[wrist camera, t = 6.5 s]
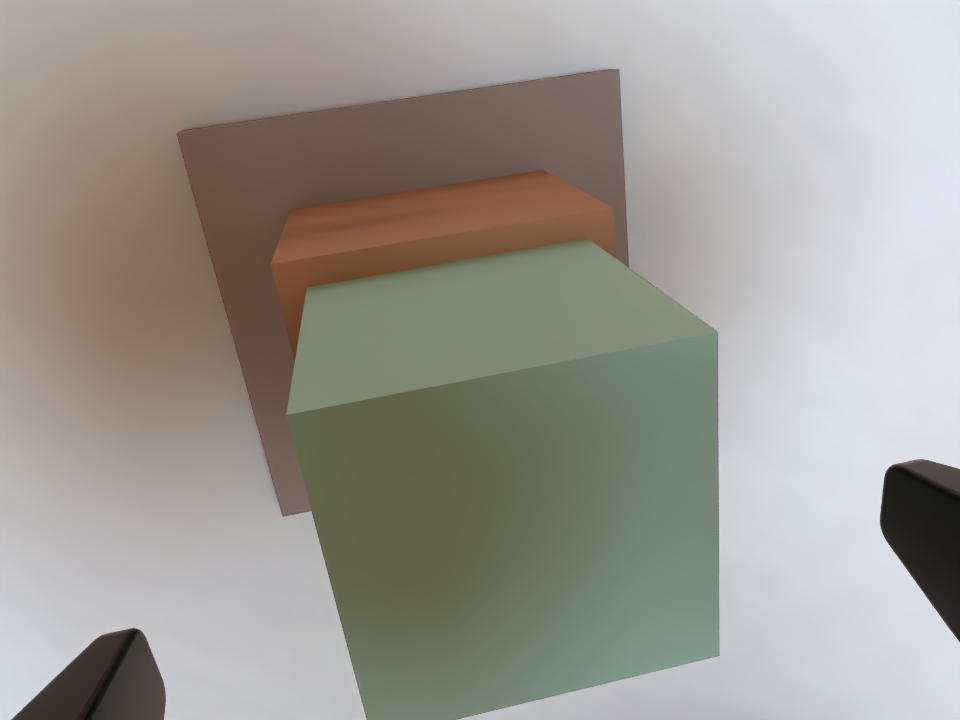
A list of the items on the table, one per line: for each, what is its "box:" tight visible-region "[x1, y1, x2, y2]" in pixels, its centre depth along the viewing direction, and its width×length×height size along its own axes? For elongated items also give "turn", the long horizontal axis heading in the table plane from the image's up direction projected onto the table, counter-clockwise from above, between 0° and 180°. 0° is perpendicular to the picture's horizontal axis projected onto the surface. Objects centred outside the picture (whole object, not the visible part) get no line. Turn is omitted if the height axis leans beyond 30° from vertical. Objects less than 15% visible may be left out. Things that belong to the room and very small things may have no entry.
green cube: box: [286, 238, 719, 720], centre depth 12 cm, size 5×5×5 cm
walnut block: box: [271, 170, 616, 361], centre depth 16 cm, size 6×6×5 cm
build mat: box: [177, 69, 629, 516], centre depth 19 cm, size 10×10×1 cm
